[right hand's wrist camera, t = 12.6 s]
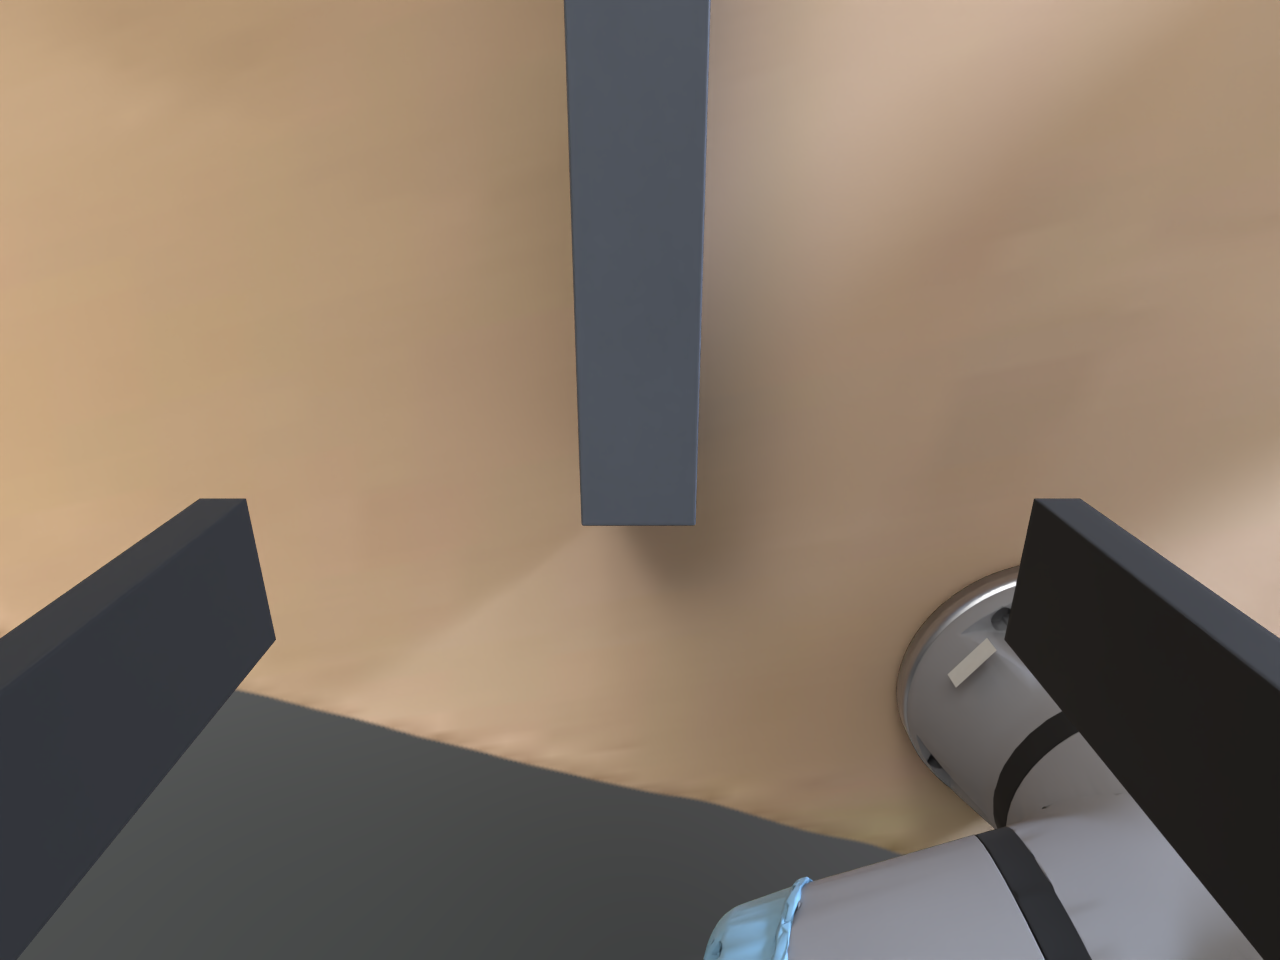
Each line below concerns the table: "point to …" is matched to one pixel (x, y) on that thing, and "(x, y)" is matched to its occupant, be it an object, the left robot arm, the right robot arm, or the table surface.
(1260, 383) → the table surface
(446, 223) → the table surface
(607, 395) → the post
